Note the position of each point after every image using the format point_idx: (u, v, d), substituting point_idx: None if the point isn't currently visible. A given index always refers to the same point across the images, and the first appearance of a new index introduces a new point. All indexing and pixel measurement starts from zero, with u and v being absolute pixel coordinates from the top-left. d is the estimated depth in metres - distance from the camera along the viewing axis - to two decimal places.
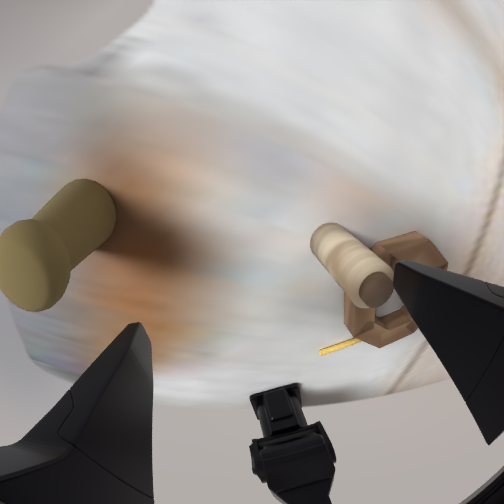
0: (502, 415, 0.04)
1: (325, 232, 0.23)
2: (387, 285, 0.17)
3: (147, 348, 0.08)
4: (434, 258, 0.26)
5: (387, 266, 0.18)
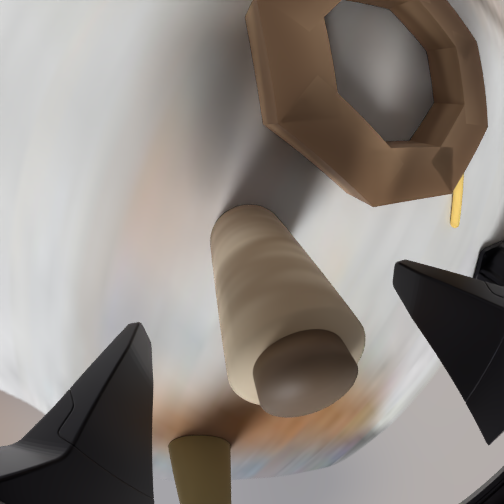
0: (502, 415, 0.04)
1: None
2: (293, 377, 0.05)
3: (147, 348, 0.08)
4: None
5: (241, 347, 0.06)
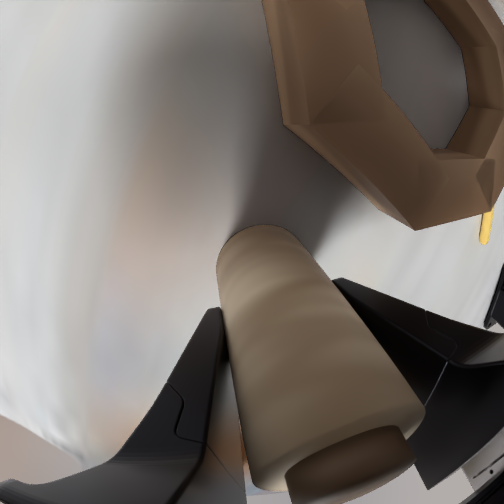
0: (439, 465, 0.04)
1: None
2: (343, 490, 0.03)
3: None
4: None
5: (274, 460, 0.03)
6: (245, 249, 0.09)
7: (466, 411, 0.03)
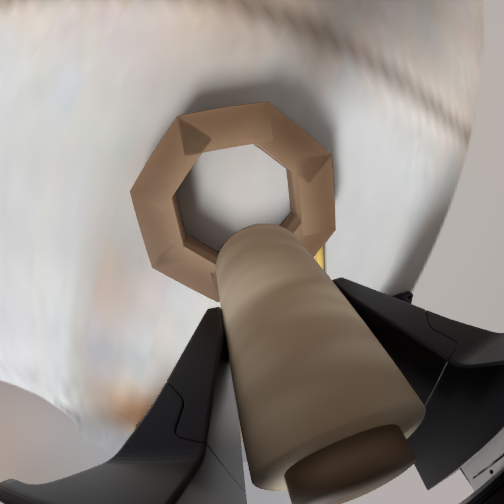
0: (439, 465, 0.04)
1: None
2: (343, 490, 0.03)
3: None
4: (163, 163, 0.16)
5: (274, 460, 0.03)
6: (245, 248, 0.09)
7: (466, 411, 0.03)
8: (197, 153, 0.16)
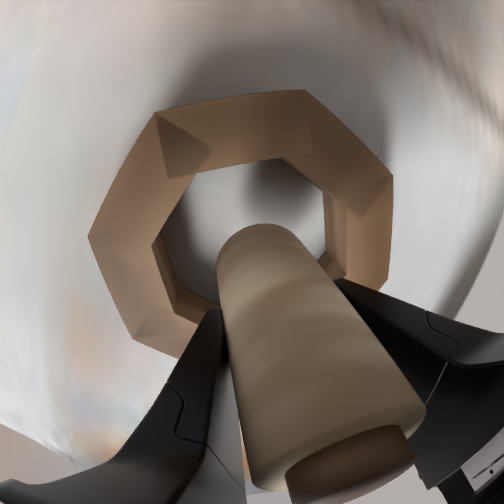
0: (439, 465, 0.04)
1: None
2: (343, 490, 0.03)
3: None
4: (134, 191, 0.09)
5: (274, 460, 0.03)
6: (245, 248, 0.09)
7: (466, 411, 0.03)
8: (189, 173, 0.10)
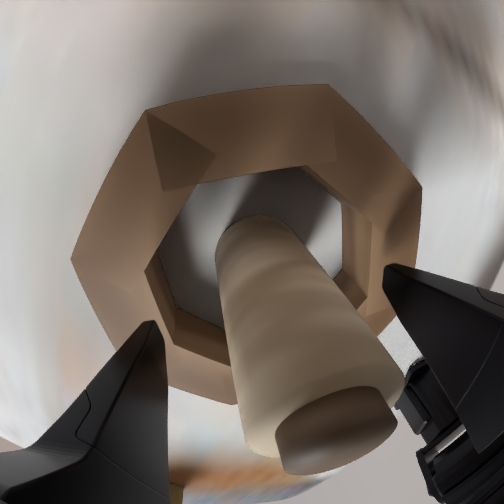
0: (492, 423, 0.04)
1: None
2: (327, 445, 0.04)
3: (161, 346, 0.08)
4: (122, 206, 0.08)
5: (263, 413, 0.04)
6: (241, 236, 0.10)
7: None
8: (188, 185, 0.08)
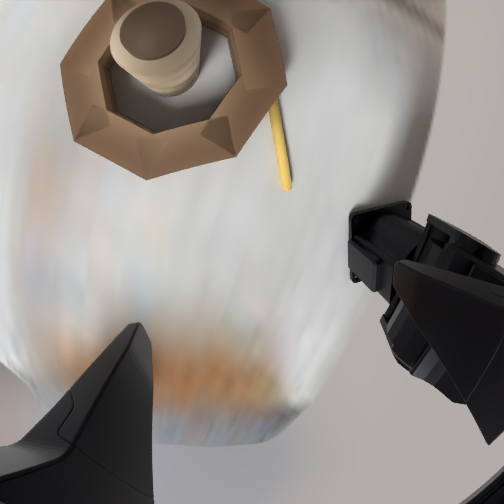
0: (502, 415, 0.04)
1: None
2: (139, 16, 0.07)
3: (147, 348, 0.08)
4: (93, 32, 0.10)
5: (119, 22, 0.07)
6: None
7: None
8: None
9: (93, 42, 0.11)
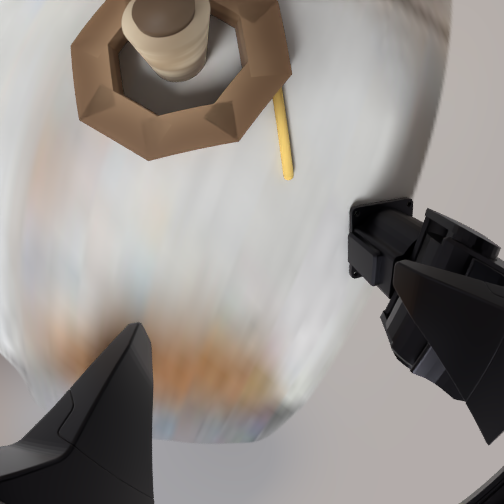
0: (502, 415, 0.04)
1: None
2: None
3: (147, 348, 0.08)
4: (105, 16, 0.10)
5: (132, 2, 0.07)
6: None
7: None
8: None
9: (104, 26, 0.11)
